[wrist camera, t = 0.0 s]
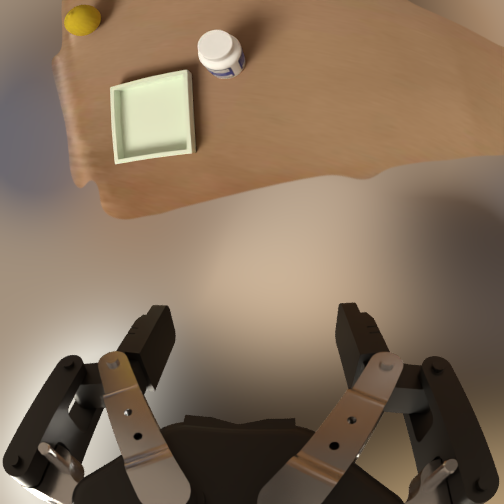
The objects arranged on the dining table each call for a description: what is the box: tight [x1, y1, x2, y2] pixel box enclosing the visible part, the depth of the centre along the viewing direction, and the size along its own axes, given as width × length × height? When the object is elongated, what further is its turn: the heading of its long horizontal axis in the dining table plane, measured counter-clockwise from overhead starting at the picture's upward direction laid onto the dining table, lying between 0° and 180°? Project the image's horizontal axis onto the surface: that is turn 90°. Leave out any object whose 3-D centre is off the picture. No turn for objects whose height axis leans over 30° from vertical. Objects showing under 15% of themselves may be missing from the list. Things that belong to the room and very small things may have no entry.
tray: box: [110, 70, 196, 164], centre depth 35 cm, size 12×12×2 cm
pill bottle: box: [198, 30, 245, 79], centre depth 29 cm, size 5×5×9 cm
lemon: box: [64, 5, 101, 36], centre depth 26 cm, size 6×6×8 cm
